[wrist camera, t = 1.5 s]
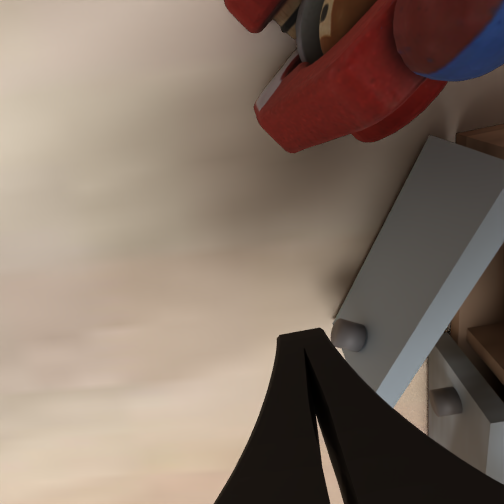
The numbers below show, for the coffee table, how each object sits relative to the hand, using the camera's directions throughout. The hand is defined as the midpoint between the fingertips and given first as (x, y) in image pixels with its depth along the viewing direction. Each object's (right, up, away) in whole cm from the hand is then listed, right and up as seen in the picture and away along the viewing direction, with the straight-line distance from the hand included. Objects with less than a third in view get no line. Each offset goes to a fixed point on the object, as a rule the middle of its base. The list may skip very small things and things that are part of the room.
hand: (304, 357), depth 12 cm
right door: (+4, +4, +6) cm, 8 cm away
